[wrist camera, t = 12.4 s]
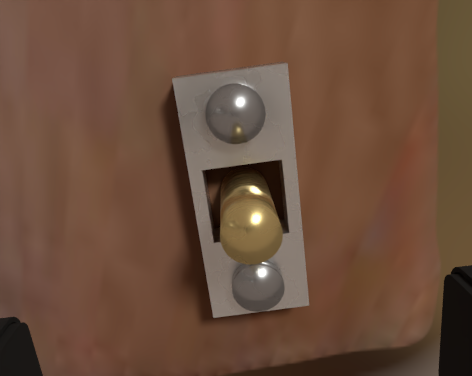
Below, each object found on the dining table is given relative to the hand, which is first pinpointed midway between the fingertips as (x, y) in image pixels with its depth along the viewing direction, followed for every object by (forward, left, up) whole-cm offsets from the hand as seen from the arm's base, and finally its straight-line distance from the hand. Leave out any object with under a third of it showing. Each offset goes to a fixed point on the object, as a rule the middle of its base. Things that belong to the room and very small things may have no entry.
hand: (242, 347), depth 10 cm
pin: (-2, -3, -21) cm, 21 cm away
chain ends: (-2, -3, -21) cm, 21 cm away
